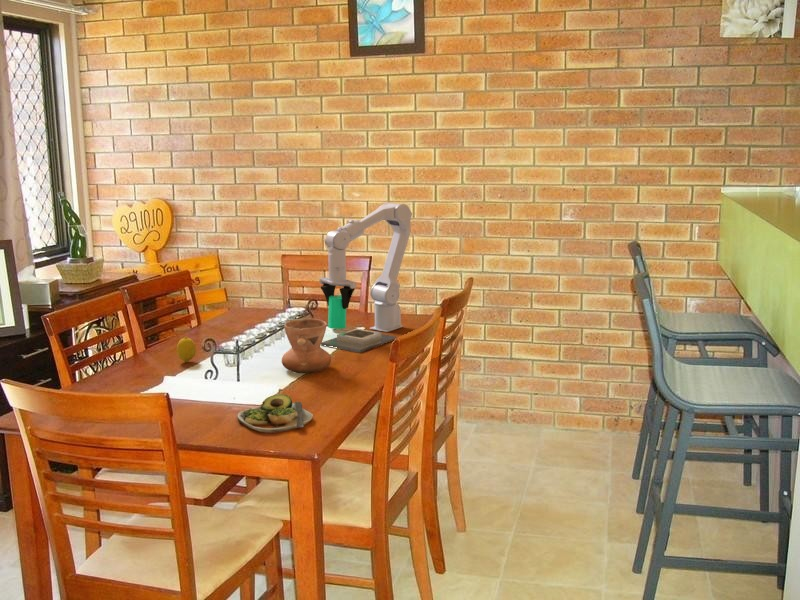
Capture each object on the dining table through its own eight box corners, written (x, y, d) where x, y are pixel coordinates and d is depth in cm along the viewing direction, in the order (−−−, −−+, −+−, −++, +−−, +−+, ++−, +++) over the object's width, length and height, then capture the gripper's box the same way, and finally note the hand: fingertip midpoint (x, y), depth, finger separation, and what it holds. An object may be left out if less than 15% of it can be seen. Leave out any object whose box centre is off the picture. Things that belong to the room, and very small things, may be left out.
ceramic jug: (327, 378, 242) (326, 330, 240) (276, 378, 243) (274, 329, 240) (335, 361, 260) (334, 315, 257) (288, 360, 261) (287, 315, 258)
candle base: (358, 333, 294) (358, 324, 293) (396, 339, 285) (396, 330, 284) (321, 345, 278) (320, 336, 277) (360, 352, 269) (359, 343, 268)
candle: (347, 325, 290) (348, 291, 288) (344, 329, 285) (345, 294, 282) (329, 324, 291) (330, 289, 289) (326, 328, 285) (327, 293, 283)
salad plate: (331, 426, 205) (331, 408, 205) (264, 442, 196) (263, 423, 195) (294, 405, 221) (293, 388, 220) (229, 418, 211) (229, 401, 210)
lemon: (186, 358, 263) (185, 333, 261) (200, 361, 260) (198, 336, 259) (173, 363, 258) (172, 337, 257) (187, 365, 256) (185, 340, 254)
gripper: (312, 266, 285) (313, 306, 288) (346, 271, 276) (347, 311, 279) (326, 263, 290) (327, 302, 293) (360, 267, 282) (360, 308, 285)
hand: (338, 307), depth 287 cm, fingers closed on candle, 6 cm apart
